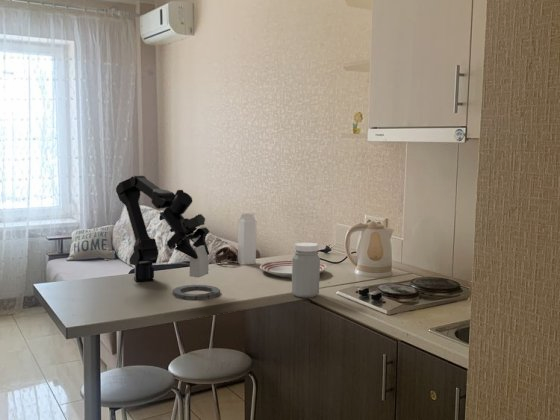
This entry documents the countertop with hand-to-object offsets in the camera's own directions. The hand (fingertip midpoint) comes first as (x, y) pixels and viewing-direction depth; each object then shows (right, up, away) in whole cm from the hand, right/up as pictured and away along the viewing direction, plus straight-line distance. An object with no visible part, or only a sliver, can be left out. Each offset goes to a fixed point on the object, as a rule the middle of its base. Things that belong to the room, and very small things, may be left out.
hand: (202, 256), depth 207 cm
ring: (-2, -13, +1) cm, 13 cm away
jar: (+35, -14, +4) cm, 38 cm away
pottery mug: (+3, -7, +56) cm, 56 cm away
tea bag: (-2, -7, +1) cm, 7 cm away
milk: (+12, -7, +56) cm, 58 cm away
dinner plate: (+32, -10, +39) cm, 51 cm away
